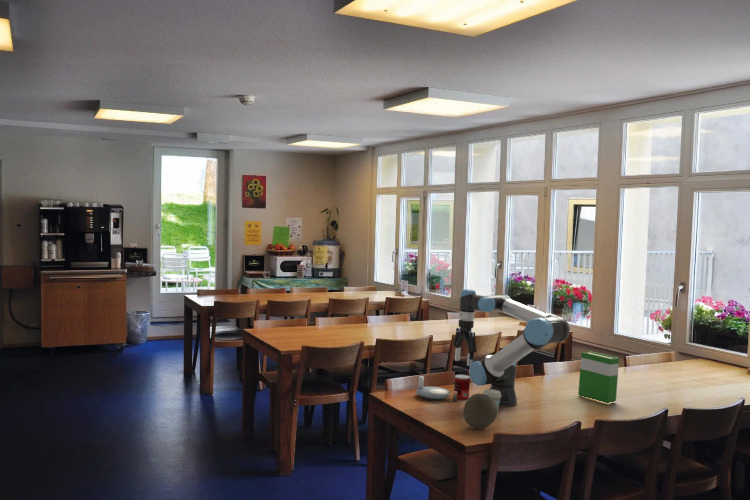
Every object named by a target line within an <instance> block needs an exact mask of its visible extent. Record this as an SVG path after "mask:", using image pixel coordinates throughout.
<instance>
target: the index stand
mask: <svg viewBox="0 0 750 500" xmlns="http://www.w3.org/2000/svg"><path fill="white" fill-rule="evenodd" d="M452 394H453V397H452V398H453V399H452V402H453V403H457V402H458V401H457V400H458V399H457V394H458V392H457V391H454V390H453V393H452ZM422 398H423V399H424V400H427V401H432V402H436V401H439V402H440V401H442V400H443V399H433V398H426V397H422Z"/></svg>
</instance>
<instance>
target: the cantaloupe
mask: <svg viewBox="0 0 750 500" xmlns="http://www.w3.org/2000/svg"><path fill="white" fill-rule="evenodd" d="M462 413H463V417H464V422H465V423H466V424H467V425H468V426H469V427H470V428H473V430H476V429H477V431H481V430H484V429H486V428H488V427H489V426H490V425H491V424H493V422H494V421H495V419H497V418H496V415H497V416H498V413H497V405H496V403H495V401H494V400H493V399H492V398H491V397H490V396H488V395H484V394H483V393H475V394H474V393H473V394H472V395H469V397H468V399H466V400H465V402H464V407H463V412H462Z"/></svg>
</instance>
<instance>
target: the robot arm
mask: <svg viewBox="0 0 750 500" xmlns="http://www.w3.org/2000/svg"><path fill="white" fill-rule="evenodd" d="M476 293H477V292H476V290H475V289H472V288H471V289H469V288H463V289H461V291H460V295H459V296H460V297H459V313H458V314H459V316H458V318H459V319H458V327H456V328H455V335H454V338H453V342H452V346H453V347H454V348H455V349H454V361H455V362H459V361H461V350H462V347H461V345H462V343H463V341H464V340H465V341H466V345H467V349H468V351H467V360H466V366H467V367H468V366H469V369H468V370H469V372H468V373H469V376H470V381H472V383H474V385H476V386H485V385H490V387H489V389H493V390H498V391H500V393H501V397H500V403H499V407H500V406H501V407H513V406H516V405H517V404H518V398H517V394H516V390H515V387H516V386H515V383H516V374H517V372H516V370H517V362H519V361H520V360H522V359H523V358H524V357H526V356H528V354H530V353H532V352H533V351H540V350H542V349H544V348H545V347H546V346H548V345H550V344H557V343H562V342H564V341H565V340H567V338H568V337H569V335H570V332H571V327H570V325H569V323H568V321H567V320H566V319H565V318H564V317H562V316H559V315H556V314H554V313H545V312H543V311H540V310H538V309H536V308H533V307H531V306H528V305H525V304H523V303H521V302H518V301H515V300H513V299H512V298H511V297H510V296H509V295H507V294H504V295H503V294H497V295H496V294H495V295H480V294H476ZM475 311H480V312H483V313H491V312H493V311H499V312H501V313H504V314H506V315H509V316H511V317H513V318H515V319H517V320H520V321H522V322H525V323H526V324H525V326H524V327H525V328H523V330H522V334H521V335H519V336H518V337H517V338H515V339H514V340H513V341H511V342H510V343H509V344H507V345H505V346H504V347H503V348H501V349H500V350H499V351H498V352H496V353H495V354H488V355H486V356H484V357H483V358H482V359H480V360H475V361H474V354H475V353H477V342H476V332H475V331H472V329H473V328H474V326H475V325H474V324H475V323H474V320H475Z"/></svg>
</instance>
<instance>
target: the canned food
mask: <svg viewBox="0 0 750 500" xmlns="http://www.w3.org/2000/svg"><path fill="white" fill-rule="evenodd" d="M470 382H471V378H470V375H466V374H456V375H455V376H454V384H453V385H454V386H453V392H454V391H457V392H458V394H457V400H463V401H464V400H465V401H467V400H468V398H469V397H470V384H471V383H470Z"/></svg>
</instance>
